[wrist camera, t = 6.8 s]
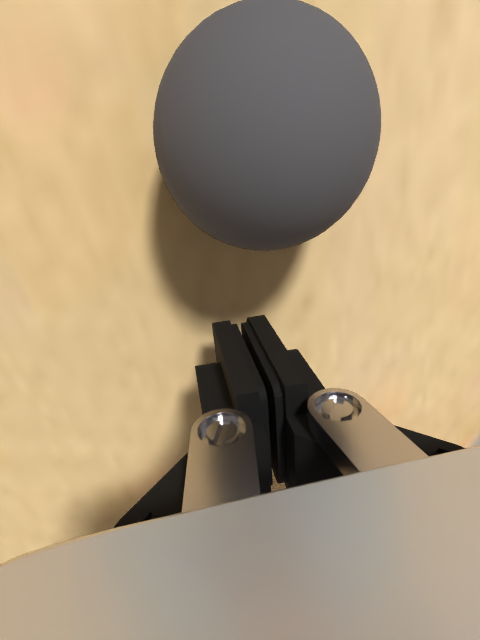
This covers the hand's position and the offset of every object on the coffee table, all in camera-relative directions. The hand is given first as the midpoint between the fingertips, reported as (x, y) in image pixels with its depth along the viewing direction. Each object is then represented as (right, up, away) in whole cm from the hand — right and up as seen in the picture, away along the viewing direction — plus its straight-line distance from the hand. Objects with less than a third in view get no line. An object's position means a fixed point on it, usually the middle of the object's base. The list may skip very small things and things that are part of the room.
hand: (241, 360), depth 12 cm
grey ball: (+1, +5, -3) cm, 6 cm away
